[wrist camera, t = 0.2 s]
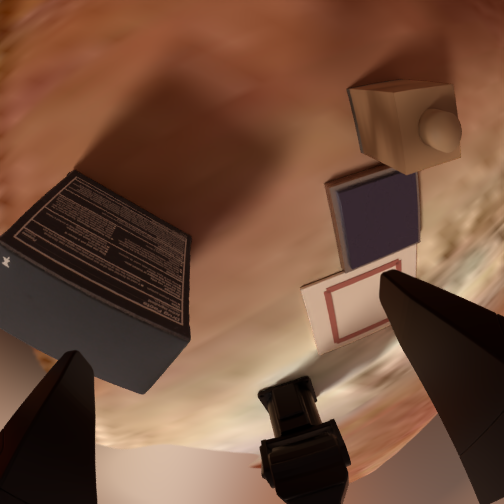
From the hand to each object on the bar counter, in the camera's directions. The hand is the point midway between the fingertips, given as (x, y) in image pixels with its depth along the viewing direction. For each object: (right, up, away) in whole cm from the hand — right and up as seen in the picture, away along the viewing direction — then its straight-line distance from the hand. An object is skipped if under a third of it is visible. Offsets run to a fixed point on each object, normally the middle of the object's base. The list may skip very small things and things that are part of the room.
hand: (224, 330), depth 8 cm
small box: (-10, +3, +14) cm, 17 cm away
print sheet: (+12, -3, +21) cm, 24 cm away
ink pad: (+11, +5, +16) cm, 20 cm away
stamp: (+11, +12, +12) cm, 20 cm away
